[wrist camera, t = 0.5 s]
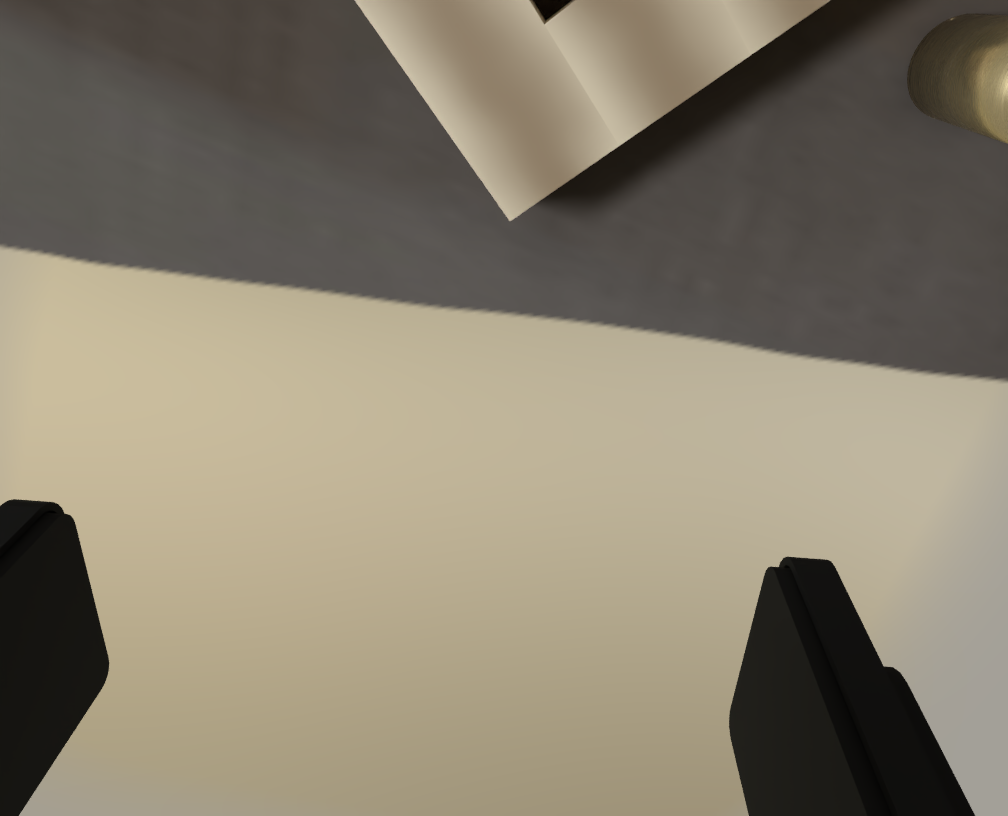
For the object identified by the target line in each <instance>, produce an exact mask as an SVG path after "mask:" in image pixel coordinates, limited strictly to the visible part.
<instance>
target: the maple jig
mask: <svg viewBox="0 0 1008 816" xmlns="http://www.w3.org/2000/svg"><path fill="white" fill-rule="evenodd" d="M355 1H356V3H357V4H358V6H359V7H360V8H361V10H362V11H363V13H364V14H365V16H366V17H367V18H368V20H369V21H370V23H371V24H372V26H373V27H374V28H375V30H376V31H377V33H378V34H379V36H380V37H381V38H382V40H383V41H384V43H385V44H386V46H387V47H388V48H389V50H390V51H391V53H392V54H393V55H394V57H395V58H396V60H397V61H398V63H399V64H400V65H401V67H402V68H403V70H404V71H405V73H406V74H407V75H408V77H409V78H410V80H411V81H412V83H413V84H414V85H415V87H416V88H417V90H418V91H419V93H420V94H421V95H422V97H423V98H424V100H425V101H426V102H427V104H428V105H429V107H430V108H431V110H432V111H433V112H434V114H435V115H436V117H437V118H438V120H439V121H440V122H441V124H442V125H443V127H444V128H445V130H446V131H447V132H448V134H449V135H450V137H451V138H452V140H453V141H454V142H455V144H456V145H457V147H458V148H459V149H460V151H461V152H462V154H463V155H464V157H465V158H466V159H467V161H468V162H469V164H470V165H471V167H472V168H473V169H474V171H475V172H476V174H477V175H478V177H479V178H480V179H481V181H482V182H483V184H484V185H485V187H486V188H487V189H488V191H489V192H490V194H491V195H492V196H493V198H494V199H495V201H496V202H497V204H498V205H499V206H500V208H501V209H502V211H503V212H504V214H505V215H506V216H507V218H508V219H509V221H511V220H513V219H514V218H516V217H517V216H518V215H520V214H521V213H523V212H524V211H526V210H527V209H529V208H530V207H531V206H533V205H534V204H536V203H537V202H539V201H540V200H542V199H543V198H545V197H546V196H547V195H549V194H550V193H552V192H553V191H555V190H556V189H558V188H559V187H561V186H562V185H563V184H565V183H566V182H568V181H569V180H571V179H572V178H574V177H575V176H576V175H578V174H579V173H581V172H582V171H584V170H585V169H587V168H588V167H590V166H591V165H592V164H594V163H595V162H597V161H598V160H600V159H601V158H603V157H604V156H605V155H607V154H608V153H610V152H611V151H613V150H614V149H616V148H617V147H619V146H620V145H621V144H623V143H624V142H626V141H627V140H629V139H630V138H632V137H633V136H634V135H636V134H637V133H639V132H640V131H642V130H643V129H645V128H646V127H648V126H649V125H650V124H652V123H653V122H655V121H656V120H658V119H659V118H661V117H662V116H663V115H665V114H666V113H668V112H669V111H671V110H672V109H674V108H675V107H677V106H678V105H679V104H681V103H682V102H684V101H685V100H687V99H688V98H690V97H691V96H692V95H694V94H695V93H697V92H698V91H700V90H701V89H703V88H704V87H706V86H707V85H708V84H710V83H711V82H713V81H714V80H716V79H717V78H719V77H720V76H721V75H723V74H724V73H726V72H727V71H729V70H730V69H732V68H733V67H735V66H736V65H737V64H739V63H740V62H742V61H743V60H745V59H746V58H748V57H749V56H751V55H752V54H753V53H755V52H756V51H758V50H759V49H761V48H762V47H764V46H765V45H766V44H768V43H769V42H771V41H772V40H774V39H775V38H777V37H778V36H780V35H781V34H782V33H784V32H785V31H787V30H788V29H790V28H791V27H793V26H794V25H795V24H797V23H798V22H800V21H801V20H803V19H804V18H806V17H807V16H809V15H810V14H811V13H813V12H814V11H816V10H817V9H819V8H820V7H822V6H823V5H824V4H826V3H827V2H829V1H830V0H572V1H570V2H569V3H568V4H566V5H565V6H564V7H563V8H561V9H560V10H559V11H557V12H556V13H555V14H554V15H552V16H551V17H550V18H548V19H547V20H545V19H544V17H543V15H542V14H541V12H540V11H539V9H538V7H537V6H536V4H535V2H534V1H533V0H355Z"/></svg>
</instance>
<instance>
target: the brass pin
mask: <svg viewBox="0 0 1008 816" xmlns="http://www.w3.org/2000/svg"><path fill="white" fill-rule="evenodd" d="M907 83H908V90H909V94H910V97H911V99H912V101H913V103H914V104H915V105H916V107H917V108H918V109H919V110H920V111H921V112H923V113H924V114H926V115H928V116H930V117H932V118H935V119H938V120H941V121H944V122H947V123H950V124H952V125H955V126H958V127H961V128H964V129H967V130H970V131H973V132H976V133H979V134H981V135H984V136H987V137H990V138H993V139H996V140H999V141H1002V142H1005V143H1008V16H1002V15H986V14H964V15H959V16H956V17H953V18H950V19H948V20H946V21H944V22H942V23H941V24H939V25H938V26H936V27H935V28H934V29H933V30H931V31H930V32H929V33H928V34H927V35H926V36H925V37H924V39H923V40H922V41H921V43H920V44H919V45H918V47H917V49H916V50H915V52H914V54H913V56H912V59H911V62H910V65H909V69H908V77H907Z"/></svg>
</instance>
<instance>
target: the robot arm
mask: <svg viewBox="0 0 1008 816" xmlns="http://www.w3.org/2000/svg"><path fill="white" fill-rule="evenodd" d="M108 670H109V659H108V654H107V650H106V646H105V642H104V638H103V634H102V630H101V626H100V622H99V618H98V614H97V609H96V606H95V602H94V598H93V594H92V589H91V585H90V582H89V577H88V574H87V569H86V565H85V561H84V557H83V553H82V549H81V545H80V541H79V538H78V533H77V529H76V525H75V522H74V520H73V518H72V517H71V516H70V515H68V514H64V512H63V510H62V508H61V507H60V506H59V505H58V504H56V503H53V502H41V501H29V500H15V499H14V500H9V501H7V502H5V503H4V504H2V505H1V506H0V816H19V814H20V813H21V811H22V810H23V808H24V807H25V805H26V804H27V802H28V801H29V799H30V798H31V796H32V794H33V793H34V791H35V790H36V788H37V787H38V785H39V784H40V782H41V781H42V779H43V778H44V776H45V775H46V773H47V772H48V770H49V769H50V767H51V765H52V764H53V762H54V761H55V759H56V758H57V756H58V755H59V753H60V752H61V750H62V748H63V747H64V746H65V744H66V743H67V741H68V740H69V738H70V736H71V735H72V733H73V731H74V730H75V729H76V727H77V726H78V724H79V723H80V721H81V720H82V718H83V716H84V715H85V714H86V712H87V710H88V709H89V707H90V706H91V704H92V703H93V701H94V700H95V698H96V697H97V695H98V694H99V692H100V691H101V689H102V687H103V686H104V683H105V681H106V678H107V675H108ZM729 728H730V736H731V742H732V746H733V749H734V754H735V758H736V763H737V767H738V771H739V775H740V780H741V784H742V788H743V792H744V797H745V801H746V805H747V809H748V813H749V816H975V815H974V813H973V811H972V809H971V807H970V805H969V803H968V801H967V799H966V797H965V795H964V793H963V791H962V789H961V787H960V785H959V784H958V781H957V780H956V777H955V776H954V774H953V772H952V770H951V768H950V766H949V764H948V762H947V760H946V758H945V756H944V754H943V752H942V750H941V748H940V746H939V744H938V742H937V740H936V738H935V736H934V734H933V733H932V731H931V729H930V727H929V725H928V723H927V721H926V719H925V717H924V715H923V713H922V711H921V709H920V707H919V705H918V703H917V701H916V700H915V698H914V695H913V693H912V691H911V689H910V688H909V686H908V684H907V682H906V681H905V679H904V678H903V676H902V675H901V673H900V672H899V671H897V670H896V669H894V668H893V667H884V666H883V664H882V662H881V660H880V658H879V656H878V654H877V652H876V650H875V648H874V646H873V644H872V642H871V640H870V638H869V636H868V634H867V632H866V630H865V628H864V625H863V623H862V621H861V619H860V617H859V615H858V613H857V612H856V609H855V607H854V605H853V603H852V601H851V599H850V597H849V595H848V593H847V591H846V589H845V587H844V585H843V583H842V581H841V579H840V576H839V574H838V572H837V570H836V568H835V566H834V565H833V563H832V562H831V561H829V560H823V559H808V558H796V557H785V558H783V560H782V561H781V562H780V565H779V567H768V569H767V570H766V573H765V576H764V579H763V583H762V587H761V591H760V595H759V598H758V602H757V606H756V610H755V614H754V618H753V622H752V626H751V630H750V634H749V638H748V642H747V646H746V650H745V653H744V658H743V662H742V666H741V670H740V673H739V677H738V681H737V685H736V689H735V693H734V697H733V701H732V705H731V709H730V717H729Z"/></svg>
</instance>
